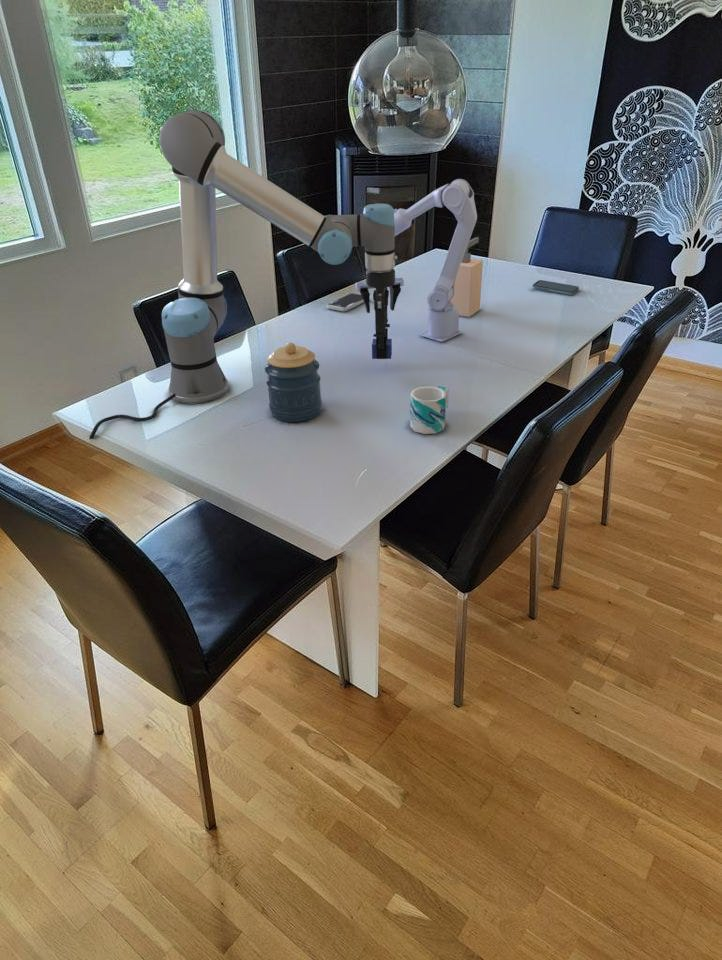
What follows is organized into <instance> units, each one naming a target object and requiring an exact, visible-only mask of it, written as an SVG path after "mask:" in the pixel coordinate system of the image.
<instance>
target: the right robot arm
mask: <svg viewBox="0 0 722 960" xmlns="http://www.w3.org/2000/svg"><path fill="white" fill-rule="evenodd" d="M434 207H436V208H443V207H446V209H448V210H449V211H450V212H451V213H452V215H453V216H454V217H455V219H456V221H457V224H456V227H455V230H454V233H453V236H452V238H451V242H450V245H449V248H448V251H447V253H446V256H445V259H444V261H443V266H442V267H441V270H440V273H439V276H438V279H437V280H436V283H435V285H434V288H433V289H432V291H430V292H429V294H428V295H427V304H428V318H427V319H428V321H427V322H428V323H427V327H428V328H427V332H424V333H423V334H421V337H422V338H427V339H429V340H432V341H436V342H439V343H443V342H446V341H449V340H450V339H452V338H455V337H457V336H459V335H460V334H461V333H462V332H461V331H459V329H460V327H459V326H460V315H459V310H458V308H457V307H456V306H455V305H454V304H452V302H451V299H452V298H453V296H454V284H455V281H456V276H457V273H458V270H459V268H460V265H461V262H462V259H463V257H464V254H465V251H466V248H467V246H468V243H469V241H470V240H471V237H472V234H473V231H474V229H475V226H476V224H477V220H478V212H477V208H476V202H475V192H474V190H473V188H472V187H471V186H470V183H469V182H468V181H467V180H466V179H463V178H457V179H454V180H453V181H451V182H450V183H446V184H444V185H442V186H440V187H438V188H435V189H434V190H433V191H432V192H430V193H429V194H427V195H426V196H424V197H422V198H421V199H420V200H419V201H417V202H416V203H414V204H413V205H411V206H410V207H408V208H407V209H405V208H398V209H397V208H393V209H394V222H395V237H396V236H398V235H400V234H401V233H403V232H404V231H405V230H407V229H409V228H410V227H411V225H412V222H413V220H415V219H416V218H417V217H419V216H421V215H422V214H424V213H426V212H427V211H430V210H431V209H432V208H434ZM404 281H405V280H404V279H403V278H402V277H397V278H396V277H395V284H394V285H393V286H391V287H389V298H390V299H389V308H390V310H391V311H392V312H393V311H395V307H396V303H397V301H398V300H397V299H398V297H399V295H400V293H401V291H402V287H404ZM369 289H375V288H374V287H369V286H368V285H367V284H366V280H361V281H357V282H355V290H356V291H358V292H359V294H360V295H362V298H363V300H364V302H363V304H364V307H365V311H366V313H367V314H370V313H371V306H370V296H371V293H370V290H369Z"/></svg>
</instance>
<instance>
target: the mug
mask: <svg viewBox="0 0 722 960" xmlns="http://www.w3.org/2000/svg"><path fill="white" fill-rule="evenodd" d="M449 393H450V388H449V387H445V386H441V385H438V386H437V387H436V386H432V385H429V386H428V385H427V386H419V387H416V388H414V389H412V390H411V392H410V395H409V396H410V397H409V398H410V399H409V401H410V403H409V420H410V421H409V426H410V429H412V431H414V432H415V433H418V434H423V435H430V434H432V435H433V434H438V433H440V432H442V431H444V429H445V426H446V412H447V411H446V410H447V408H448V407H449Z"/></svg>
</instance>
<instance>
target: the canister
mask: <svg viewBox="0 0 722 960" xmlns="http://www.w3.org/2000/svg"><path fill="white" fill-rule="evenodd" d="M266 360H267V364H265V367H264V372H265V373H266V375H267V378H266V382H265V383H266V385H267V393H268V400H269V402H268V406H269V410H270V413H271V415H272V417H273V418H275V419H276V420H279V421H282V422H288V423H289V422H290V423H296V422H297V423H298V422H304V421H308V420H311V419H313V418H315V417H317V416H318V415H319V414H320V413H321V411H322V408H323V399H322V392H321V376H320V374H319V372H318V370H319V369H320V363H319V361H318V360H317V359H316V354H315V352H313V351H312V350H309V349H308V348H306V347H304V346H299V345H296V344H294V343H293V342H287V343H286V344H285V346H283V347H279V348H277V349H275V350H274V351H273V352H272V353H270V354H269V355H268V356H267V359H266Z"/></svg>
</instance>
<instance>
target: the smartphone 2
mask: <svg viewBox="0 0 722 960" xmlns="http://www.w3.org/2000/svg"><path fill="white" fill-rule="evenodd" d="M531 288H532V289H533V290H539V291H545V292H551V293H557V294H562V295H568V296H573V295H574V294H575V293H577V292H578V291H579V289H580V287H579V286H578V285H572V284H566V283H561V282H555V281H549V280H545V279H539V280H537V281H536V282H534V283H532V285H531Z"/></svg>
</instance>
